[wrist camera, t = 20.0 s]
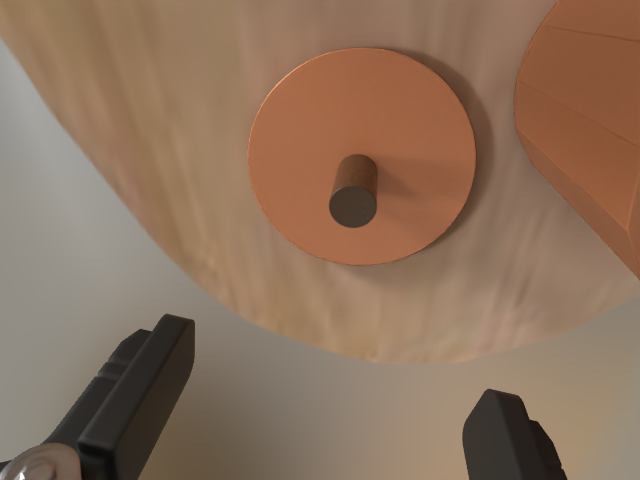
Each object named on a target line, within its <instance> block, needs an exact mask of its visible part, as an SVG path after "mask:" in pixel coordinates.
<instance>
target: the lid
mask: <svg viewBox="0 0 640 480" xmlns="http://www.w3.org/2000/svg"><path fill="white" fill-rule="evenodd" d="M248 168H249V176H250V180H251V184H252V188H253V191H254V194H255V196H256V199H257V201H258V203H259V205H260V207H261V209H262V211H263V212H264V214H265V215H266V217H267V218H268V219H269V221H270V222H271V223H272V225H273V226H274V227H275V228H276V229H277V230H278V231H279V232H280V233H281V234H282V235H283V236H284V237H285V238H286V239H288V240H289V241H290V242H292V243H293V244H294V245H296V246H297V247H299V248H300V249H302V250H304V251H306V252H308V253H309V254H312V255H314V256H316V257H319V258H321V259H324V260H328V261H331V262H335V263H340V264H346V265H359V266H360V265H376V264H383V263H388V262H392V261H396V260H399V259H402V258H404V257H407V256H410V255H412V254H414V253H416V252H417V251H419V250H421V249H423V248H425V247H426V246H427V245H429V244H430V243H432V242H433V241H435V240H436V239H437V238H438V237H439V236H440V235H442V234H443V233H444V232H445V231H446V229H447V228H448V227H449V226H450V225H451V224H452V223H453V222H454V220H455V219H456V217H457V216H458V214H459V213H460V212H461V210H462V208H463V206H464V204H465V202H466V200H467V198H468V196H469V193H470V190H471V187H472V184H473V179H474V175H475V169H476V145H475V138H474V133H473V129H472V125H471V123H470V120H469V118H468V115H467V112H466V110H465V109H464V107H463V105H462V103H461V102H460V100H459V98H458V97H457V95H456V94H455V93H454V92H453V90H452V89H451V88H450V87H449V85H448V84H447V83H446V82H445V81H444V80H443V79H442V78H441V77H439V76H438V75H437V74H436V73H435V72H434V71H432V70H431V69H429V68H428V67H426V66H425V65H424V64H422V63H421V62H418V61H416V60H414V59H412V58H410V57H408V56H406V55H403V54H400V53H397V52H393V51H390V50H385V49H378V48H360V47H355V48H347V49H340V50H336V51H332V52H329V53H325V54H322V55H320V56H317V57H315V58H313V59H311V60H309V61H306V62H305V63H303V64H302V65H300V66H299V67H297V68H295V69H294V70H292V71H291V72H290V73H289V74H288V75H287V76H285V77H284V78H283V79H282V80H281V81H280V82H279V83H278V84H277V85H276V86H275V87H274V88H273V90H272V91H271V92H270V93H269V94H268V96H267V98H266V99H265V101H264V102H263V104H262V105H261V107H260V109H259V111H258V113H257V116H256V118H255V120H254V123H253V126H252V130H251V133H250V139H249V145H248Z"/></svg>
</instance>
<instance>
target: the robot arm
mask: <svg viewBox="0 0 640 480" xmlns="http://www.w3.org/2000/svg"><path fill="white" fill-rule="evenodd" d="M194 356H195V322H194V320H192V319H187V318H183V317H178V316H174V315H170V314H165V315H164V316H163V317H162V318H161V319H160V321H159V322H158V324H157V325H156V327H155V328H154V329H153V331H152V332H151V331H147V330H143V329H140V330H138V331H136V332H135V333H134V334H132V335H131V336H129V337H128V338H126V339H125V340H123V341H122V342H121V343H120V344H119V346H118V347H117V348H116V350H115V351H114V352H113V354H112V355H111V356H110V358H109V360H108V362H106V363H105V364H104V365H103V367H102V368H101V370H100V371H99V372H98V375H97V376H96V377H94V379H93V380H92V381H91V383H90V384H89V385H88V387H87V388H86V389H85V391H84V392H83V393H82V395H81V396H80V397H79V398H78V400H77V401H76V402H75V404H74V405H73V406H72V408H71V409H70V410H69V412H68V413H67V414H66V416H65V417H64V418H63V420H62V421H61V422H60V424H59V425H58V426H57V428H56V429H55V430H54V432H53V433H52V434H51V435H50V436H49V437H48V438H47V439H46V440H45V441H44V442H43V443H42V444H40V445H38V446H35V447H33V448H30V449H28V450H26V451H25V452H23V453H21V454H20V455H18V456H17V457H15V458H14V459H13V460H9V461H6V462H2V463H0V480H137V479H138V477H139V476H140V474H141V472H142V470H143V468H144V466H145V464H146V462H147V460H148V458H149V456H150V454H151V452H152V450H153V448H154V446H155V444H156V442H157V440H158V438H159V436H160V434H161V432H162V430H163V428H164V426H165V424H166V422H167V420H168V418H169V416H170V414H171V412H172V410H173V408H174V407H175V404H176V403H177V401H178V398H179V397H180V394H181V393H182V391H183V389H184V387H185V385H186V383H187V381H188V378H189V376H190V374H191V371H192V367H193V363H194ZM463 448H464V453H465V459H466V464H467V469H468V475H469V480H567V477H566V475H565V472H564V470H563V469H562V468H561V462H560V459H559V457H558V454H557V452H556V449H555V447H554V444H553V442H552V441H551V439H550V438H549V436H548V435H547V434H546V432H545V431H544V430H543V428H542V427H541V426H540V424H539V423H538V422H537V421H533V420H529V417H528V414H527V412H526V409H525V406H524V403H523V401H522V399H521V398H520V397H519V396H518V395H514V394H510V393H505V392H501V391H497V390H492V389H487V390H486V391H485V392H484V393H483V395H482V396H481V398H480V400H479V401H478V403H477V404H476V406H475V407H474V409H473V410H472V412H471V414H470V415H469V416H468V418H467V420H466V422H465V424H464V428H463Z"/></svg>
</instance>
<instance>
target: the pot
mask: <svg viewBox="0 0 640 480" xmlns="http://www.w3.org/2000/svg"><path fill="white" fill-rule="evenodd" d="M514 117H515V123H516V129H517V132H518V135H519V138H520V141H521V143H522V145H523V147H524V149H525V151H526V153H527V154H528V156H529V158H530V161H531V163H532V164H533V165H534V166H535V167H536V168H537V169H538V170H539V172H540V173H541V174H542V175H543V176H544V177H545V178H546V179H547V180H548V181H549V182H550V183H551V185H552V186H553V187H554V188H555V189H556V190H557V191H558V192H559V193H560V194H561V195H562V196H563V197H564V199H565V200H566V201H567V202H568V203H569V204H570V205H571V206H572V207H573V208H574V209H575V210H576V212H577V213H578V214H579V215H580V216H581V217H582V218H583V219H584V220H585V221H586V222H587V223H588V224H589V226H590V227H591V228H592V229H593V230H594V231H595V232H596V233H597V234H598V235H599V236H600V237H601V239H602V240H603V241H604V242H605V243H606V244H607V245H608V246H609V247H610V248H611V249H612V250H613V252H614V253H615V254H616V255H617V256H618V257H619V258H620V259H621V260H622V261H623V262H624V263H625V264H626V266H627V267H628V268H629V269H630V270H631V271H632V272H633V273H634V274H635V275H636V276H637V277H638V279H639V280H640V0H559V1H558V2H557V3H556V5H555V6H554V7H553V9H552V10H551V11H550V12H549V14H548V15H547V16H546V17H545V19H544V21H543V22H542V24H541V25H540V27H539V28H538V30H537V32H536V33H535V35H534V37H533V39H532V41H531V43H530V45H529V47H528V49H527V51H526V53H525V56H524V58H523V61H522V64H521V67H520V69H519V73H518V78H517V82H516V86H515V96H514Z"/></svg>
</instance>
